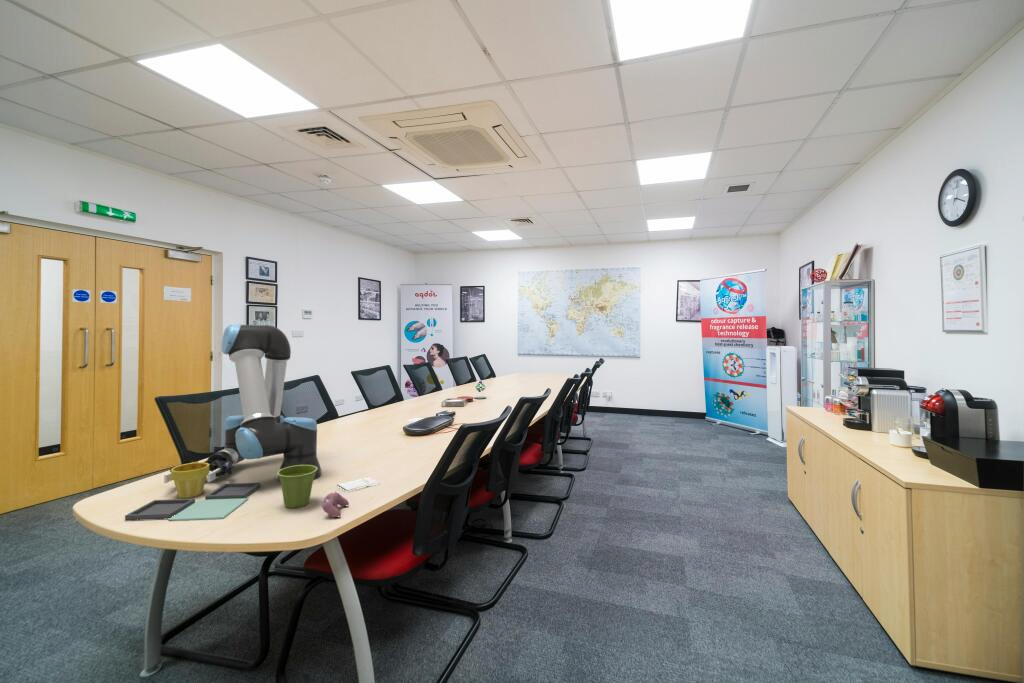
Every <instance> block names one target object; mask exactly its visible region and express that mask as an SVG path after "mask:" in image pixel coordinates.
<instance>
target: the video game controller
mask: <svg viewBox="0 0 1024 683" xmlns="http://www.w3.org/2000/svg"><path fill="white" fill-rule="evenodd" d="M349 504H350V503H349V500H348V499H346V498H345V497H343V496H342V495H341V494H340V493H339V492H337V491H335V492H330V493H328V494H327V495H325V497H324V499H323V501H322V502H321V507H322V510H323V511H324V512H325V513H326V514H328V516H330V517H333V518H334V517H338V516H340V517H342V516H341V515H342V513H341V511H340V510H339V506H341V507H342V506H346V505H348V506H350V505H349ZM337 508H338V509H337Z"/></svg>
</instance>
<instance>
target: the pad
mask: <svg viewBox="0 0 1024 683" xmlns="http://www.w3.org/2000/svg"><path fill="white" fill-rule="evenodd" d="M248 500H249V497H246V498H239V499H210V500H205V499H198V500H197V501H195V503H194V504H192V505H190V506H189V507H187V508H186V509H184V510H182V511H181V512H179V513H178V514H176V515H175V516H173V517H171V518H170V519H167V521H168V520H183V521H200V520H201V521H202V520H204V519H208V520H223V519H225V518H226V517H227V515H228V516H230V514H232V513H233V512H234V511H235V509H236V510H237V509H238V508H239V507H241V506H243V504H245V503H246V502H248ZM244 502H245V503H244Z"/></svg>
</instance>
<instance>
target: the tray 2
mask: <svg viewBox="0 0 1024 683" xmlns="http://www.w3.org/2000/svg"><path fill="white" fill-rule="evenodd" d="M260 486H262V483H261V482H237V483H233V482H232V483H224V484H222V485H221V486H219V487H217V488H216V489H214V490H213V491H211V492H210V493H208V494H207V495H205V497H204V498H205V499H204V500H210V499H239V498H248V497H249V496H251V493H252V494H253V493H254V492H256V491H257V490H259V489H260V488H261V487H260ZM259 487H260V488H259ZM255 490H256V491H255ZM247 496H248V497H247Z"/></svg>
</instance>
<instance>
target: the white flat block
mask: <svg viewBox="0 0 1024 683" xmlns="http://www.w3.org/2000/svg"><path fill="white" fill-rule="evenodd" d="M378 482H379V481H378V480H376V479H374V478H372V477H370V476H368V477H364V478H360V479H359V478H358V479H355V480H351V481H347V482H346V481H345V482H341V483H338V484H336V487H337V486H339V487H341V488H342V489H344V490H346V491H349V490H353V489H356V488H359V487H363V486H367V485H370V484H374V483H378Z"/></svg>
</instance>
